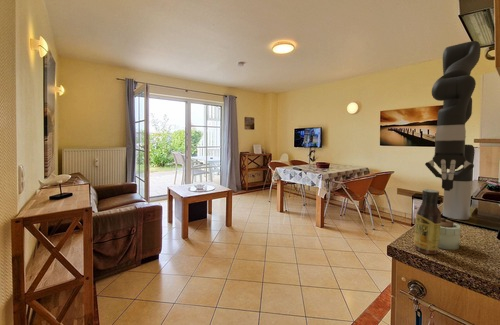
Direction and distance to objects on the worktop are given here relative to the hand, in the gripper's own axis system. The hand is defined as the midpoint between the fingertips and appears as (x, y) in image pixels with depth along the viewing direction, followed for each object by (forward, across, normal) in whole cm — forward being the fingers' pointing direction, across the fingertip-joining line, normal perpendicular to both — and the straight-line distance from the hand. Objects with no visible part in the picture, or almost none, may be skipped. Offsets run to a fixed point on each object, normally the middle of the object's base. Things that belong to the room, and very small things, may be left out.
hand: (447, 190), depth 78 cm
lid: (+13, +1, +2) cm, 13 cm away
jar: (+18, +1, +2) cm, 18 cm away
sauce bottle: (+18, +4, +12) cm, 22 cm away
